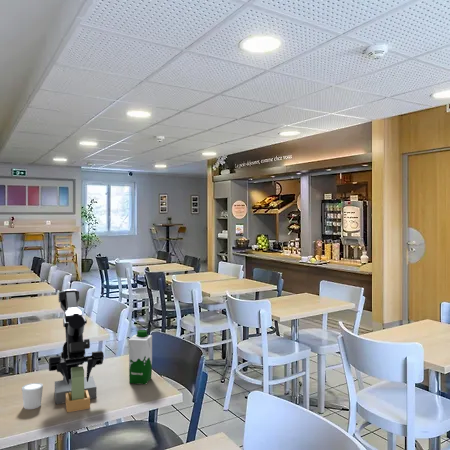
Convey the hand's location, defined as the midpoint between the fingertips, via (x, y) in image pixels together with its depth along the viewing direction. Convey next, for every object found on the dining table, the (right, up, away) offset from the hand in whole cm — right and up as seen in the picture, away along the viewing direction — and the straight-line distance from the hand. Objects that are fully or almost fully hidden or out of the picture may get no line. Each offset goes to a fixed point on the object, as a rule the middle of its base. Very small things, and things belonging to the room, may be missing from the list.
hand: (77, 382), depth 150 cm
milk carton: (+17, -9, +25) cm, 31 cm away
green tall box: (-1, -9, +1) cm, 9 cm away
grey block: (-3, -9, +7) cm, 11 cm away
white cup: (-16, -9, +1) cm, 19 cm away
